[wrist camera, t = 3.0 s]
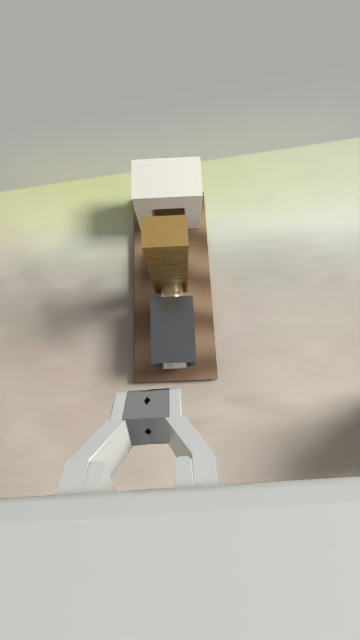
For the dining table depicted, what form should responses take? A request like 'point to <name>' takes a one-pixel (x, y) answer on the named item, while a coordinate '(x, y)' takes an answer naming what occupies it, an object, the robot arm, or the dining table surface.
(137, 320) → the walnut base board
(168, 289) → the block rod assembly
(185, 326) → the dark gray block
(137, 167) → the cream socket block
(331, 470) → the dining table surface
